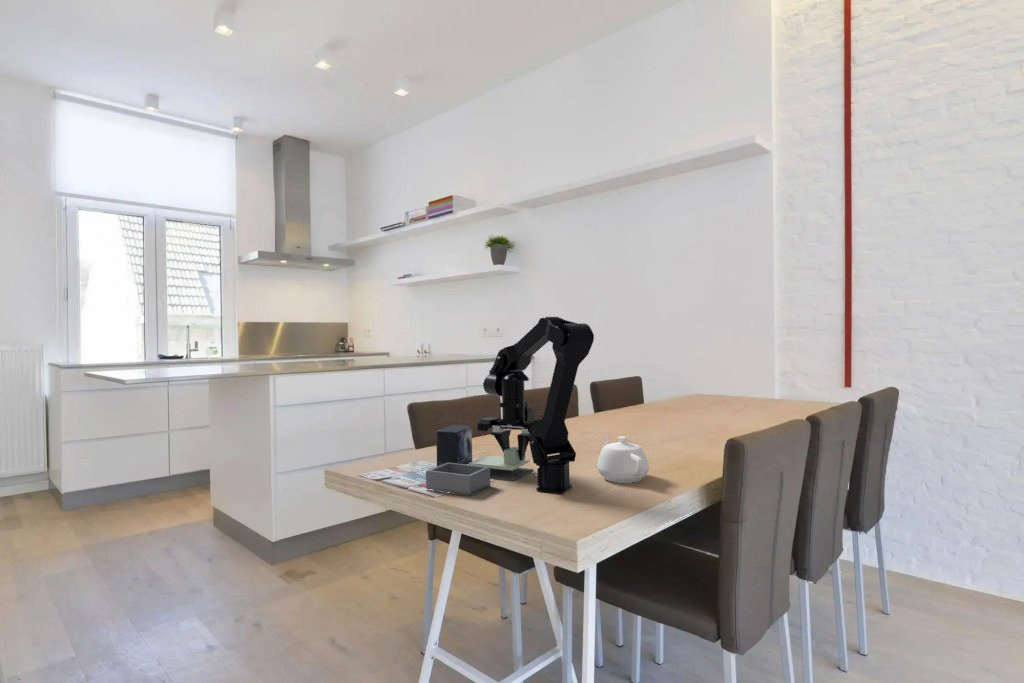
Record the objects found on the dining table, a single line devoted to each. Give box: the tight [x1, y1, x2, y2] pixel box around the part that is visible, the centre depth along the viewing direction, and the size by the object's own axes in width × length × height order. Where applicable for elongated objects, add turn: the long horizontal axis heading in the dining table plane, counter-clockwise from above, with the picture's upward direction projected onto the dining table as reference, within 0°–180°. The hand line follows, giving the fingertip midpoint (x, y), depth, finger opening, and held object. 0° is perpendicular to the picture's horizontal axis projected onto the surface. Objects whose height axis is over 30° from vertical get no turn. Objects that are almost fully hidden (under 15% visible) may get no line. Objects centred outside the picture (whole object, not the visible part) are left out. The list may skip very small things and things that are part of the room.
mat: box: [490, 467, 534, 482], centre depth 147 cm, size 14×11×1 cm
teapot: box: [596, 435, 650, 484], centre depth 139 cm, size 20×12×10 cm, turn 14°
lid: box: [468, 445, 531, 470], centre depth 146 cm, size 13×10×5 cm
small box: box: [436, 424, 473, 467], centre depth 155 cm, size 11×6×10 cm, turn 161°
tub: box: [425, 463, 491, 497], centre depth 133 cm, size 12×9×4 cm
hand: (514, 459), depth 144 cm, fingers closed on lid, 3 cm apart
